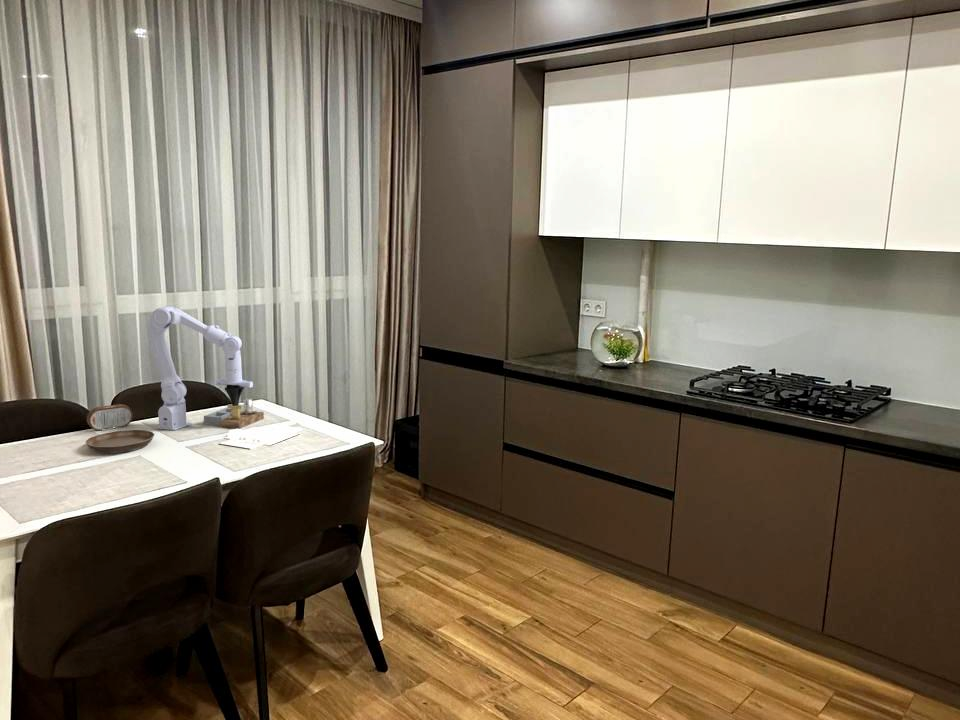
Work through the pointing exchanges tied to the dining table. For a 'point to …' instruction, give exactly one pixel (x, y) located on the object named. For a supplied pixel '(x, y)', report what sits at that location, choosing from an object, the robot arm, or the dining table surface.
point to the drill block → (241, 420)
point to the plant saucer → (120, 441)
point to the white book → (260, 436)
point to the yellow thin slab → (235, 411)
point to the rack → (218, 416)
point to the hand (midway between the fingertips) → (235, 405)
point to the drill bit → (248, 407)
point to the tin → (109, 416)
